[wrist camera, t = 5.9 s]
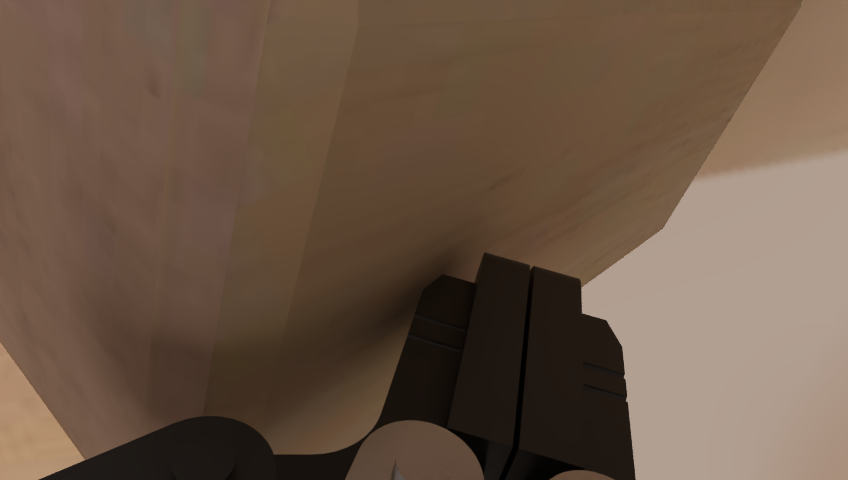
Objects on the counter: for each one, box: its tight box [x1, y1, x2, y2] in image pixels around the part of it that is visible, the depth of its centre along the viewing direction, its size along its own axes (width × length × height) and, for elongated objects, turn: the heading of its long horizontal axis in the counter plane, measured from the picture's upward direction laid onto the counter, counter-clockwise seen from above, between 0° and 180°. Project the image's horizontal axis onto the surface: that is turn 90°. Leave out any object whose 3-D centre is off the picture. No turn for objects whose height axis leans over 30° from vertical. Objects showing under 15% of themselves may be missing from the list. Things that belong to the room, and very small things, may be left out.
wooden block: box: [0, 0, 802, 460], centre depth 16 cm, size 10×10×20 cm
